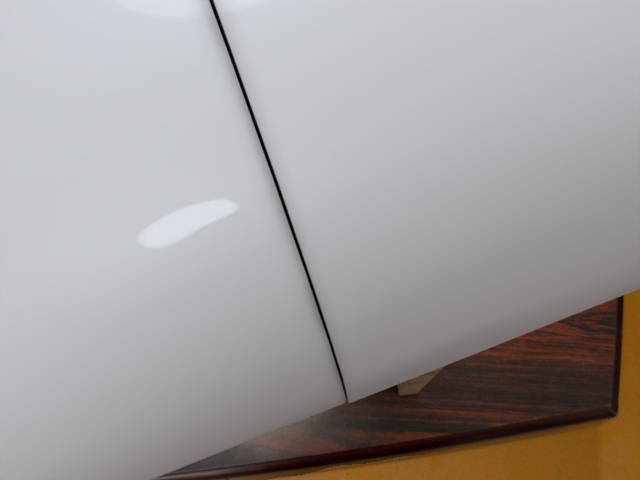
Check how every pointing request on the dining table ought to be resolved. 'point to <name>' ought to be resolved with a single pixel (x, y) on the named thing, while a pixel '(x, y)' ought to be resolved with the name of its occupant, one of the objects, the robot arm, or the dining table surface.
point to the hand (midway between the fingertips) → (278, 268)
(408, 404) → the dining table surface
